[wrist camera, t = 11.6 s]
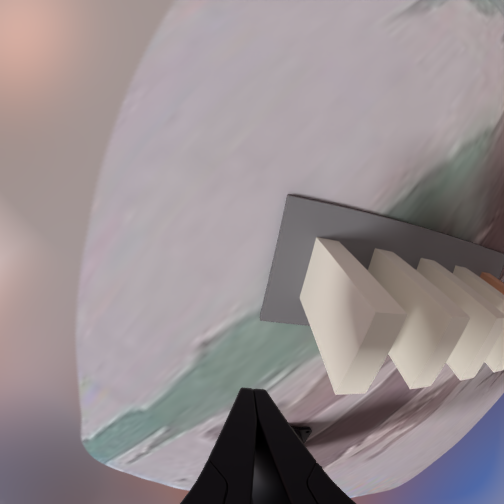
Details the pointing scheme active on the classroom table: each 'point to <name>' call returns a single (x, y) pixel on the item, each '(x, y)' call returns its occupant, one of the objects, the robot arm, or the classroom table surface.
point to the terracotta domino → (493, 281)
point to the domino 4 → (500, 355)
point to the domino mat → (356, 250)
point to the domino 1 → (348, 316)
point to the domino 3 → (479, 326)
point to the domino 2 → (419, 320)
